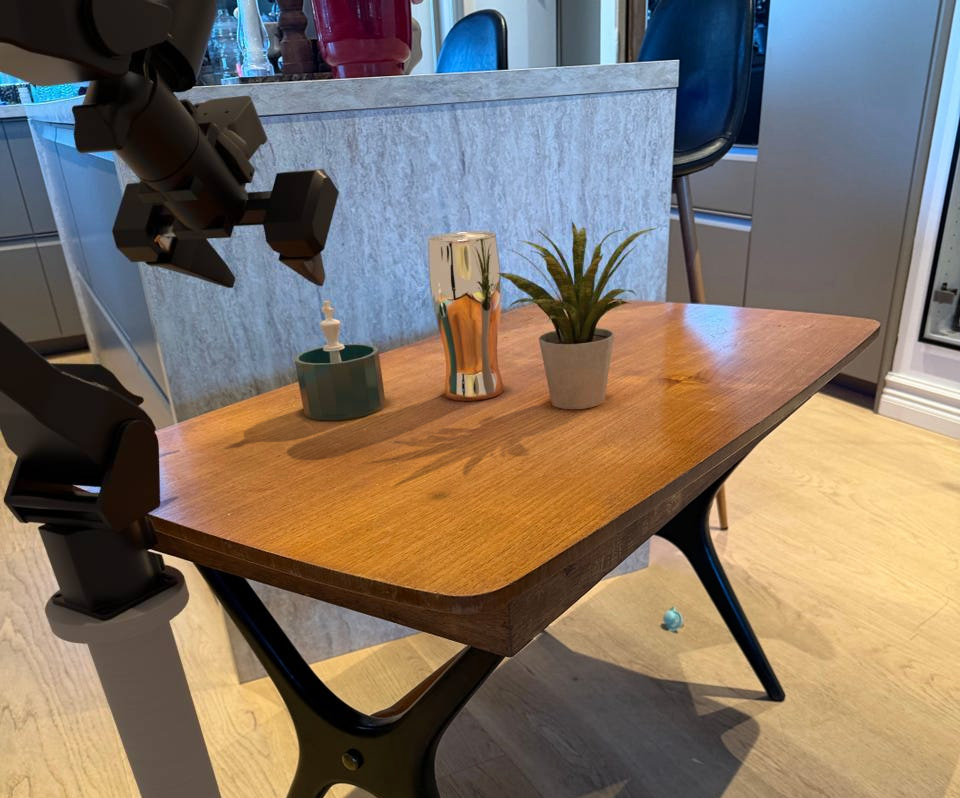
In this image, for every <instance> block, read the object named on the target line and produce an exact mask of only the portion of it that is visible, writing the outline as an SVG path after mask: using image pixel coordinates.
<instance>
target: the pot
mask: <svg viewBox="0 0 960 798" xmlns="http://www.w3.org/2000/svg"><path fill="white" fill-rule="evenodd" d="M342 344H343V345H344V347H345V348H344V349H342V350H339V353H340V357H341V361H342V362H335V363H331V362H330V352H327V351H324V350H323V349H324V348H323V347H324V346H321V347H320V346H319V347H316V348H312V349H308V350H306V351H302V352H300V353H299V354H297V355H295V356H294V358H293V359H294V365H295V371H296V376H297V381H298V386H299V393H300V398H301V404H302V410H303V413H304V416H305V417H307V418H308V419H311V420H315V421H323V422H324V421H327V422H329V421H330V422H331V421H333V422H335V421H346V420H353V419H358V418H363V417H366V416H369V415H373V414H375V413H378V412H379V411H381V410H383V409H384V408H385V406H386V396H385V389H384V381H383V372H382V367H381V359H380V358H381V357H380V351H379V348H378V347H377V346H375V345H371V344H368V343H367V344H366V343H342Z"/></svg>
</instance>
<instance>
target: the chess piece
mask: <svg viewBox="0 0 960 798" xmlns="http://www.w3.org/2000/svg"><path fill="white" fill-rule="evenodd" d="M320 309H321V313H322V314H323V313H324V314H325V319H324V320H322V321H320V322H319V327H320V329H321V331H322V333H323V336H324V337H325V340H326V342H327V343H326V344H325V345H323V346H322V347H323V348H324V349H323V350H324V351H327V352H330V362H331V363H335V362H342V361H341V357H340V353H339V350H342V349H344V348H345V347H344V345H343V344H344V343H340V342H339V337H340V329H341V321H340V320H339V319H335V318H333V314H335V308H333V307H331V301H330V300H324V301H323V307H322V306H321V307H320Z"/></svg>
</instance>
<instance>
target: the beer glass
mask: <svg viewBox="0 0 960 798" xmlns="http://www.w3.org/2000/svg"><path fill="white" fill-rule="evenodd" d="M427 247H428V248H427V249H428V251H427V253H428V255H427V256H428V258H427V259H428V278H429V279H428V280H429V289H430V297H431V302H432V307H433V312H434V316H435V321H436V324H437V327H438V332H439V335H440V340H441V343H442V347H443V350H444V358H445V371H446V372H445V381H444V382H445V383H444V395H445V397H446V398H448V399H449V400H452V401H458V402H474V401H475V402H477V401H483V400H488V399H492V398H495V397H498V396H499V395H501V394H503V392H504V383H503V379H502V377H501V376H502V375H501V371H500V367H499V359H498V341H499V330H500V319H501V318H500V317H501V309H502V308H501V307H502V276H501V275H500V274H498V273H501V264H500V257H499V249H498V243H497V233H496V231H495V232H494V231H490V230H471V231H470V230H468V231H458V232H449V233H442V234H437V235H433V236H430V237H428V238H427Z"/></svg>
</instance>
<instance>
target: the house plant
mask: <svg viewBox="0 0 960 798" xmlns="http://www.w3.org/2000/svg"><path fill="white" fill-rule="evenodd" d="M534 229H535V230H537V232H538V233H540V235H542V236H543V237H544V238H545V239H546V240H547V241H548V242H549V244H551V246H552V247H553V249H554V250H555V252H556V253H557V255H558V257H559V260H561V263H562V265H563V266H562V265H561V263H560V262H559V260H558V259H557V257H556V256H555V255H554V254H553V253H552V252H551V251H550V250H549V249H547V248H545V247H544V246H541V245H538V244H536V243H535V242H534V243H533V242H530V241H527V240H519V239H517V241H519V242H521V243H524V244H527V245H530V246H531V247H533V248H535V249H536V250H538V251H539V252H538V251H534V250H530V252H532V253H536V254H538V255H539V256H541V258H542V259H543V261H544V262H545V266H546V270H547V272H548V273H549V275H550V277H551V279H552V280H553V282H554V283H555V285H556V288H557V289H558V291H559V294H560V296H559V295H558V293H557V292H556V290H555V288H554V286H553V285H552V283H551V282H550V281H549V279H548V278H547V277H546V275H545V274H544V273H543V272H542V270H540V269H539V267H537V266H536V265H535V264H534V263H533V262H532V261H530V260H529V259H528V258H527V257H526V256H524V255H523V254H521V253H519V252H517V251H515V250H512V249H509V248H506V250H508V251H511V252H513V253H516V254H518V256H520V257H522V258H524V259H525V260H526V261H528V262H529V263H530V264H531V265H532V266H533V267H534V268H535V269H536V270H537V271H538V273H540V274H541V275H542V276H543V277H544V279H545V280H546V282H547V283H548V284H549V286H550V287H551V289H552V290H553V292H554V294H555V295H556V297H557V300H556V299H555V298H554V297H553V296H552V295H551V294H550V293H549V292H548V291H547V290H546V289H545V288H543V287H542V286H541V285H539V284H536V283H535V282H533V281H532V280H531V281H530V280H529V279H527V278H524V277H523V276H520V275H517V274H514V273H509V272H500V273H498V274H500V275H501V278H504V279H506V280H509V281H510V282H511V284H513V285H514V286H515V287H516V288H517V289H519V290H520V291H522V292H523V293H525V294H527V295H528V296H530V297H531V298H527V297H524V298H519V299H517V300H515V301H513V302H511V304H510V305H509V306H508V307H507V309H509V308H510V307H512V306H513V305H516V304H517V306H520V304H522V303H523V304H524V303H528V302H530V303H534V304H536V305H537V306H538V308H539V309H540V310H541V311H543V312H544V313H545V314H546V316H547V317H548V320H547V322H549V321H551V323H552V326H553V328H554V330H551V331H549V332H545V333H543V334H541V335H540V336H539V337H538V343H539V347H540V353H541V356H542V357H541V358H542V362H543V367H544V371H545V377H546V383H547V388H548V392H549V393H548V394H549V398H550V402H551V406H553V407H555V408H557V409H561V410H583V409H590V408H593V407H597V406H599V405H602V404H603V403H604V402H605V399H606V394H607V386H608V381H609V373H610V366H611V360H612V353H613V348H614V341H615V340H614V339H615V333H614V332H613V331H612V330H610V329H606V328H600V327H597V325H598V322H599V321H600V320H601V318H602V317H603V316H604V315H605V314H607V313H608V312H609V311H611V310H613V309H615V308H617V307H621V306H622V305H627V304H628V305H632V303H630V302H628V301H626V300H624V299H623V298H615V297H617V296H619V295H621V294H622V293H625V292H630V293H633V295H635V296H636V297H638V295H637V294H636V292H635V291H634V290H633V289H623V288H615V289H611V290H610V291H609V292H607V293H606V294H605V295H604V296H603V297H602V298H601V295H602V294H603V292H604V290H605V288H606V286H607V283H608V282H609V281H610V278H611V277H612V276H613V274H614V273H615V272H616V271H617V270H618V268H619V266H620V265H621V264H622V263H623V261H624V260H625V259H626V257H627V256H628V255H629V254H630V253H631V252H632V251H634V249H635V248H636V247H637V245H638V244H636V245H635V246H633V247H632V248H631V249H630V250H628V251H627V253H625V254H624V255H623V256H622V257H621V258H620V260H618V259H619V257H620V256H621V255H622V253H623V252H624V251H625V250H626V248H627V247H629V245H631V244H632V243H633V241H635V240H636V239H637V238H638V237H639V236H641V235H643V234H645V233H649V232H651V231H654V230H656V229H658V227H654V228H648V229H643V230H640V231H638V232H635V233H633V234H631V235H630V236H628V237H627V238H626V239H625V240H623V242H621V243H620V244H619V245H618V246H617V248H616V249H615V250H614V252H613V253H612V254H611V256H610V257H609V259H608V261H607V263H606V265H605V267H604V268H603V271H602V272H601V275H600V277H599V280H598V282H597V284H595V281H596V276H597V273H598V270H599V264H600V262H601V261H602V260H603V256H604V253H602V246H603V243H604V241H605V240H607V238H608V237H610V236H611V235H613V234H615V233H618V232H621V231H623V230H625V229H618V230H614V231H612V232H610V233H608V234H607V235H606V236H605V237H604V238H603V239H602V240H601V242H600V243H599V244H597V245H596V246H595V248H594V250H593V253H592V257H591V261H590V264H589V266H588V267H587V269H586V270H585V272H584V263H585V254H586V248H587V247H586V246H587V240H588V237H587V229H586V227H585V226H584V227H582V228H581V229H580V230H579V231H578V229H577V227H576V225H575V223H574V222H573V221H571V230H572V247H571V248H572V249H571V253H572V266H573V267H572V268H573V276H572V273H571V270H570V268H569V266H568V263H567V260H566V259H565V257H564V255H563V254H562V252H561V250H560V249H559V248H558V246H557V245H556V244H555V243H554V242H553V241H552V240H551V239H550V238H549V237H548V236H547V235H546V234H544V233H543V232H542V231H540V230H539V229H537V228H536V227H534ZM540 252H541V253H540ZM617 261H618V262H617ZM616 262H617V264H616ZM615 264H616V265H615ZM614 265H615V266H614ZM563 267H564V268H563ZM595 285H596V286H595ZM600 298H601V299H600Z"/></svg>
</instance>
